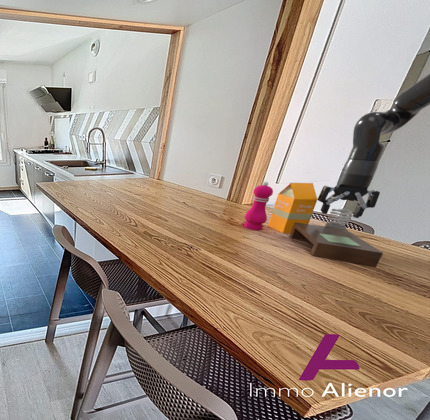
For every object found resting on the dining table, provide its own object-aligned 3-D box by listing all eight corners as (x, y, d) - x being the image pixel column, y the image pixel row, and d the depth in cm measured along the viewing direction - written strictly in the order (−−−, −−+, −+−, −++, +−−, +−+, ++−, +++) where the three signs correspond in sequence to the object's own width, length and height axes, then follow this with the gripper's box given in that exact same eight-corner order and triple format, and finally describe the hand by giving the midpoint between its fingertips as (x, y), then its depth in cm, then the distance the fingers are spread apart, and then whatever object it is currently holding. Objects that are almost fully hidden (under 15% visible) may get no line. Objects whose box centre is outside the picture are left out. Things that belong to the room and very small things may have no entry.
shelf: (339, 243, 89) (345, 228, 87) (374, 270, 73) (383, 252, 71) (289, 236, 96) (294, 221, 94) (311, 259, 79) (318, 242, 77)
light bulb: (326, 239, 93) (338, 210, 89) (317, 233, 98) (328, 205, 94) (345, 241, 91) (359, 211, 87) (335, 235, 96) (347, 207, 92)
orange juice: (267, 225, 106) (281, 180, 99) (288, 226, 105) (304, 181, 99) (282, 233, 98) (299, 185, 92) (305, 233, 98) (323, 185, 92)
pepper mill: (260, 226, 105) (274, 180, 99) (266, 232, 99) (280, 184, 93) (240, 223, 108) (252, 179, 102) (244, 229, 102) (257, 182, 96)
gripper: (335, 172, 86) (318, 215, 91) (395, 176, 80) (373, 222, 85) (325, 169, 92) (309, 209, 97) (379, 172, 86) (360, 215, 92)
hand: (339, 215), depth 91 cm, fingers open, 8 cm apart
